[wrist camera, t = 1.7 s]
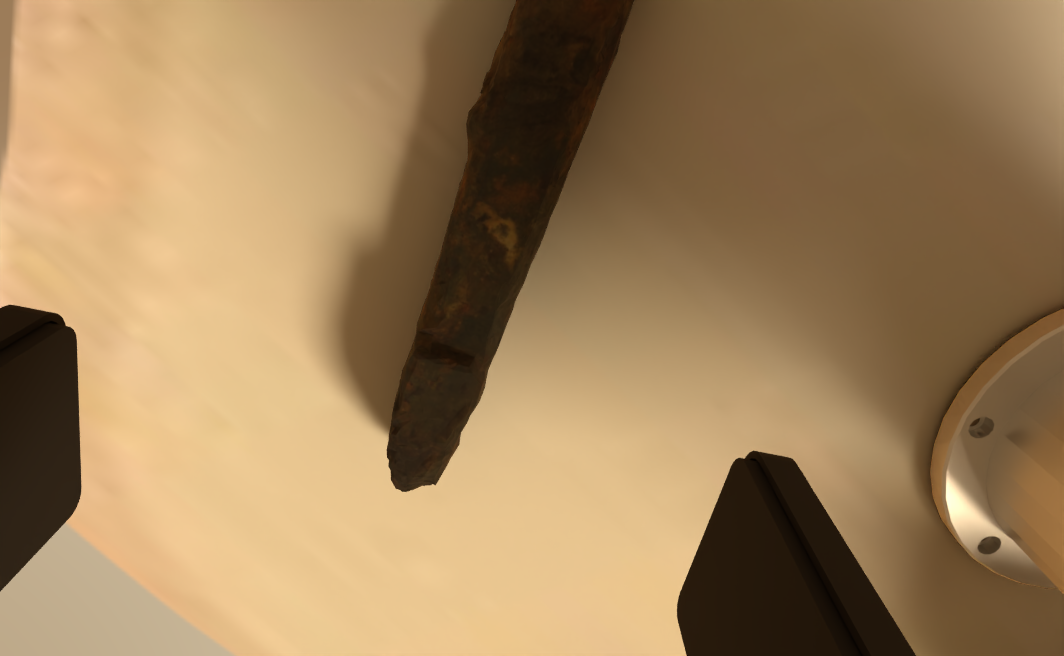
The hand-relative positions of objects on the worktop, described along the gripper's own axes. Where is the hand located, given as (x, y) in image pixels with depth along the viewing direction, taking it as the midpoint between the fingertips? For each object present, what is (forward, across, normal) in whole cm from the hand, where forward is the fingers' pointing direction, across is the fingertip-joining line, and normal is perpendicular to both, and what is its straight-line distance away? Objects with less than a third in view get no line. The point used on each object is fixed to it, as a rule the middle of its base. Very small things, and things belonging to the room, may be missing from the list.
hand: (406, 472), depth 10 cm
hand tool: (+15, -1, 0) cm, 15 cm away
